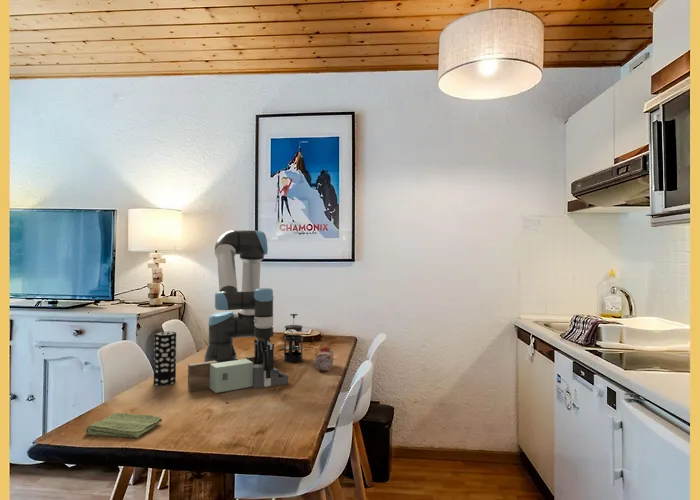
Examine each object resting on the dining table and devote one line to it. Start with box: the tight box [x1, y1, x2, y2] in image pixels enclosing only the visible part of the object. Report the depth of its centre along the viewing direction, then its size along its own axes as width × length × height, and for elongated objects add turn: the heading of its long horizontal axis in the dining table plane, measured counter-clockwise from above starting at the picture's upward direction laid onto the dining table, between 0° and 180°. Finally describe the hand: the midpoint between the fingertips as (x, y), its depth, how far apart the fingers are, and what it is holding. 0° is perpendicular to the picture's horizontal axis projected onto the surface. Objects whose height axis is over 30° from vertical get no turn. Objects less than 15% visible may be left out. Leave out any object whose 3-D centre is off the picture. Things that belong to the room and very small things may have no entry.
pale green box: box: [209, 358, 253, 394], centre depth 176 cm, size 8×15×10 cm, turn 126°
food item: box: [315, 346, 334, 372], centre depth 207 cm, size 14×8×10 cm, turn 1°
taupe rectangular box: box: [187, 354, 256, 393], centre depth 180 cm, size 3×28×10 cm, turn 126°
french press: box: [283, 313, 304, 364], centre depth 222 cm, size 12×9×23 cm
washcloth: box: [85, 412, 163, 439], centre depth 135 cm, size 13×18×3 cm
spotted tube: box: [153, 331, 177, 387], centre depth 182 cm, size 8×8×20 cm
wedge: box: [252, 364, 289, 389], centre depth 182 cm, size 5×14×8 cm, turn 118°
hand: (263, 384), depth 180 cm, fingers closed on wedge, 5 cm apart
